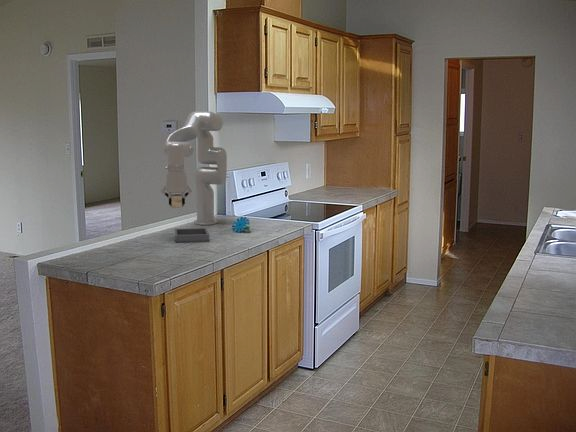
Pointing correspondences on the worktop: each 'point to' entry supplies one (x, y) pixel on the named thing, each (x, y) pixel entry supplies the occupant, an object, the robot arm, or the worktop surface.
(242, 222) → the gear
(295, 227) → the worktop surface
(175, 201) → the maple block
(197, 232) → the tray
